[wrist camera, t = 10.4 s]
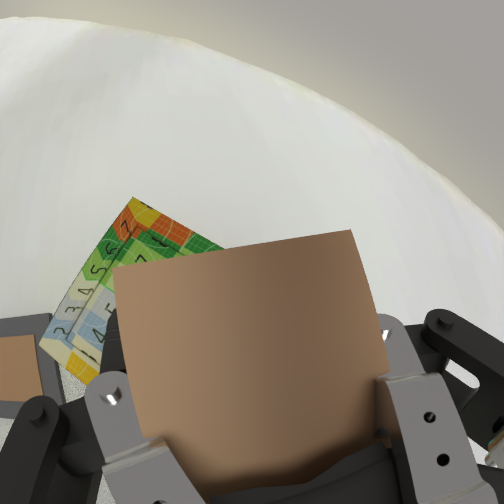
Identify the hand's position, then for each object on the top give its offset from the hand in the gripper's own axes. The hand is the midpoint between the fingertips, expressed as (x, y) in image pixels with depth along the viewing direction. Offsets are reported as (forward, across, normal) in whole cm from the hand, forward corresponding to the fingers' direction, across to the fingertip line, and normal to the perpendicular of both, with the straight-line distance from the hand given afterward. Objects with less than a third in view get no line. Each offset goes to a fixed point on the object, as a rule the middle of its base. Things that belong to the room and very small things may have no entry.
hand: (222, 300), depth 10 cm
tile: (+7, +16, +8) cm, 19 cm away
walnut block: (+1, 0, +5) cm, 5 cm away
